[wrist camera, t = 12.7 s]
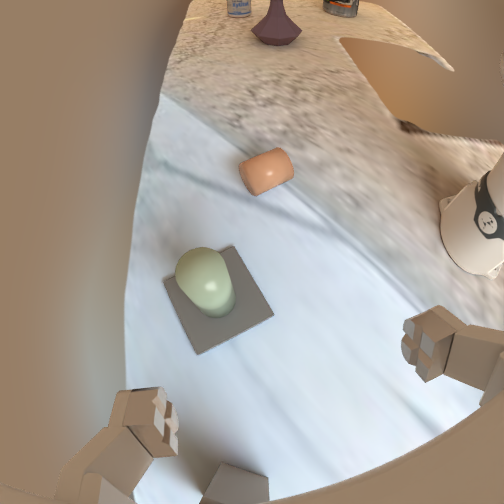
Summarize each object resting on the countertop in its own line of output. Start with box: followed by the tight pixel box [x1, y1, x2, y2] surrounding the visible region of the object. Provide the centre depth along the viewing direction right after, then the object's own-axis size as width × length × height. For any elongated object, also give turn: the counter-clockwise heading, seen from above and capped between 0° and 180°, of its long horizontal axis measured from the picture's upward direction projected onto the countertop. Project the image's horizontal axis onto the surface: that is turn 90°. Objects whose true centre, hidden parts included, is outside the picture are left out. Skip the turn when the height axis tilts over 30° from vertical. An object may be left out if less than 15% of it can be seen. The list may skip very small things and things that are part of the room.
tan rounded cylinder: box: [239, 147, 294, 196], centre depth 48 cm, size 7×6×6 cm
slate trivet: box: [163, 246, 274, 355], centre depth 42 cm, size 12×12×1 cm
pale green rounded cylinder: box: [175, 247, 236, 318], centre depth 36 cm, size 6×6×11 cm
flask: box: [251, 0, 302, 46], centre depth 67 cm, size 16×16×20 cm
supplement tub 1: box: [227, 0, 251, 18], centre depth 83 cm, size 10×10×15 cm
